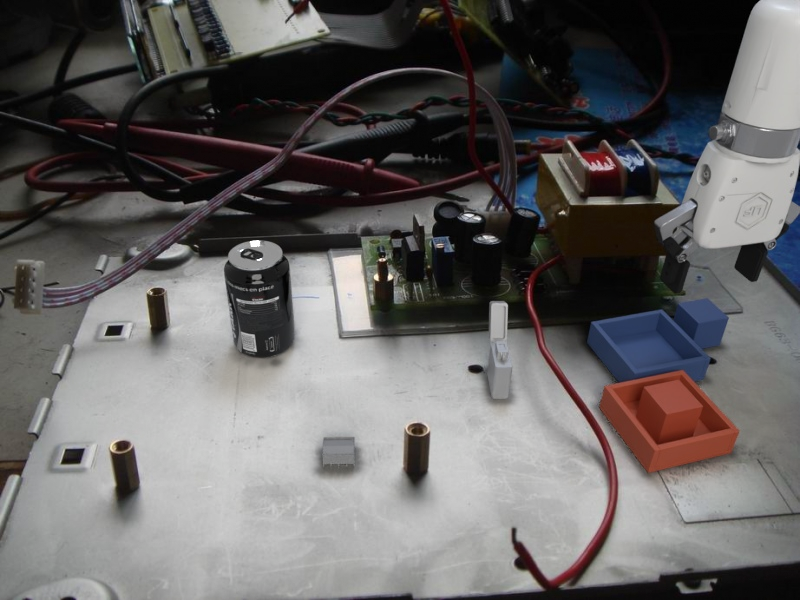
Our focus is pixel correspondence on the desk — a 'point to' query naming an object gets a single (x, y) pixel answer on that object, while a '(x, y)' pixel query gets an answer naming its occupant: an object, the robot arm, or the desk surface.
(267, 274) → the beverage can
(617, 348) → the slate bin
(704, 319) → the slate block
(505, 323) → the lighter
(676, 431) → the terracotta block
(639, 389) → the terracotta bin
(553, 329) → the desk surface
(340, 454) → the grey pin connector
